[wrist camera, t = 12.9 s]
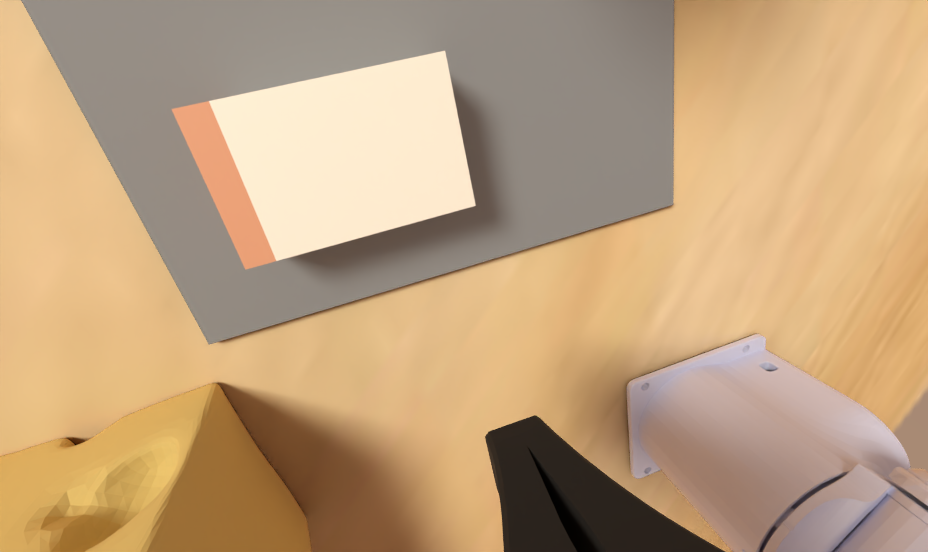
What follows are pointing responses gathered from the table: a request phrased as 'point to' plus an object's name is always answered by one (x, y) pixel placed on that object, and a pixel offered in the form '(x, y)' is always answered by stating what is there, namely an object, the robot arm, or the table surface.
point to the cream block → (331, 157)
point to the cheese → (152, 487)
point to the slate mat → (359, 46)
